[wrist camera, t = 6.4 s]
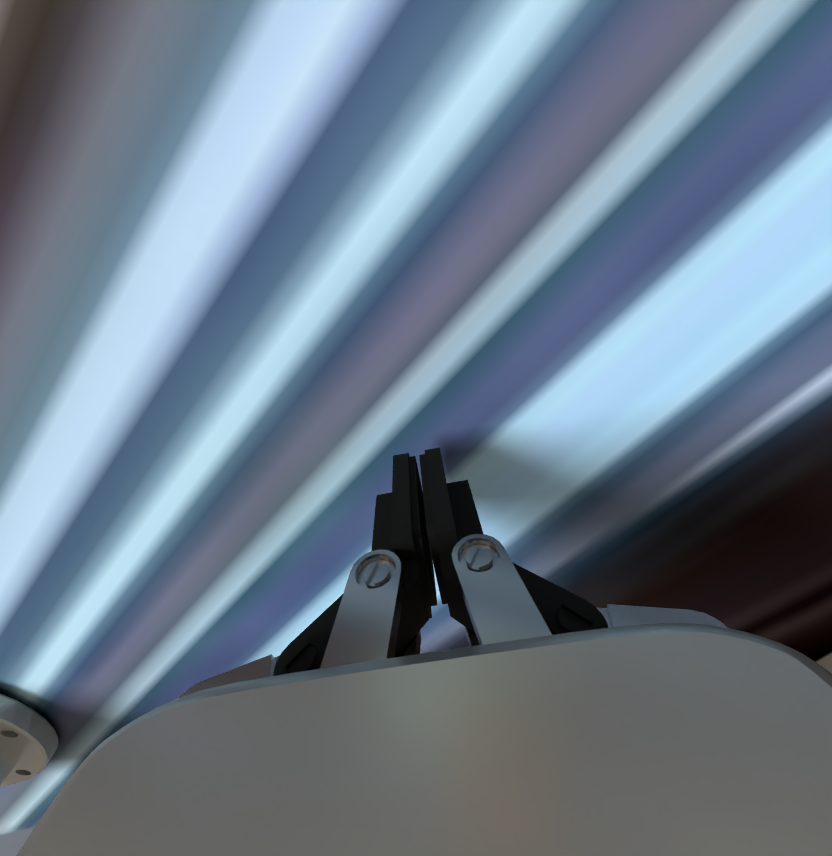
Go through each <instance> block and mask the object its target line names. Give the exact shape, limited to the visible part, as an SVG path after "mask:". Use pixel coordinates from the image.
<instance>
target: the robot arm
mask: <svg viewBox="0 0 832 856" xmlns="http://www.w3.org/2000/svg"><path fill="white" fill-rule="evenodd" d="M420 466H421V477H422V486H421V482H420V477H419V472H418V468H417V463H416V458H415V456H412V457H409V453H406V454H400V455H395V456H393V484H392V493H386V494H381V495H377V498H376V508H375V519H374V530H373V541H372V551H371V552H369V553H366V554H365V555H363V556H362V557H360V558H359V559H358V560H357V561H356V563H355V564H354V565H353V567H352V569H351V571H350V574H349V578H348V581H347V584H346V587H345V590H344V594H342V595H341V596H340V597H339V598H338V599H337V600H336V601H335V602H334V603H333V604H332V605H331V606H330V607H329V608H328V609H326V610H325V611H324V612H323V613H322V614H321V615H320V616H319V617H318V618H317V619H316V620H315V621H314V622H313V623H311V624H310V625H309V626H308V627H307V628H306V629H305V630H304V631H303V632H302V633H301V634H300V635H299V636H298V637H297V638H295V639H294V640H293V641H292V642H291V643H290V644H289V645H288V646H287V647H286V649H285V650H284V651H283V652H282V653H281V655H280V656H278V657H275V658H274V657H273V656H272V654H271V655H269V656H266V657H264V658H261V659H258V660H256V661H253V662H251V663H248V664H245V665H243V666H240V667H238V668H235V669H232V670H230V671H227V672H225V673H222V674H220V675H217V676H214V677H212V678H209V679H207V680H204V681H201V682H199V683H197V684H196V685H194V686H192V687H190V688H189V689H188V690H187V691H186V692H185V693H183V694H182V695H181V696H180V697H179V698H178V699H176V700H173V701H171V702H169V703H166V704H164V705H162V706H159V707H157V708H155V709H154V710H152V711H150V712H148V713H146V714H144V715H142V716H141V717H139V718H137V719H135V720H133V721H132V722H130V723H129V724H127V725H126V726H124V727H122V728H121V729H119V730H118V731H117V732H115V733H114V734H112V735H111V736H110V737H108V738H107V739H106V740H104V741H103V742H102V743H101V744H100V745H99V746H98V747H97V748H96V749H94V750H93V751H92V752H91V753H90V754H89V756H88V757H87V758H86V759H85V760H84V761H83V762H82V763H81V764H80V766H79V767H78V768H77V769H76V771H75V772H74V773H73V774H72V776H71V777H70V778H69V779H68V781H67V782H66V784H65V785H64V786H63V788H62V789H61V790H60V792H59V793H58V794H57V796H56V797H55V799H54V800H53V802H52V803H51V805H50V806H49V807H48V809H47V810H46V812H45V813H44V815H43V816H42V818H41V819H40V821H39V822H38V823H37V825H36V826H35V828H34V829H33V831H32V832H31V834H30V836H29V837H28V839H27V840H26V842H25V843H24V845H23V846H22V848H21V849H20V851H19V852H18V854H17V856H832V674H831V673H830V672H829V671H827V670H826V669H824V668H823V667H821V666H820V665H819V664H817V663H816V662H815V661H813V660H811V659H810V658H808V657H806V656H805V655H803V654H802V653H800V652H798V651H796V650H794V649H792V648H790V647H788V646H785V645H783V644H781V643H778V642H776V641H773V640H770V639H767V638H764V637H761V636H757V635H754V634H751V633H747V632H742V631H738V630H733V629H729V628H728V627H726V626H725V625H724V624H722V623H721V622H720V621H719V620H717V619H716V618H713V617H711V616H709V615H707V614H705V613H702V612H698V611H693V610H682V609H668V608H653V607H639V606H624V605H610V604H608V606H607V609H606V608H596V607H595V606H594V605H592V604H591V603H589V602H588V601H586V600H584V599H582V598H580V597H579V596H577V595H575V594H573V593H571V592H569V591H567V590H565V589H563V588H561V587H559V586H557V585H555V584H553V583H551V582H549V581H547V580H545V579H543V578H541V577H540V576H538V575H536V574H534V573H532V572H530V571H528V570H526V569H524V568H522V567H520V566H518V565H516V564H514V563H512V561H511V559H510V558H509V556H508V554H507V552H506V550H505V549H504V547H503V546H502V544H501V543H500V542H499V541H498V540H496V539H495V538H493V537H491V536H488V535H484V534H483V531H482V528H481V524H480V521H479V517H478V514H477V510H476V507H475V504H474V500H473V497H472V493H471V490H470V486H469V483H468V480H464V481H458V482H452V483H446V478H445V473H444V468H443V463H442V458H441V453H440V448H435V449H429V450H425V454H424V455H420ZM422 487H423V491H422ZM432 559H433V560H432ZM433 564H434V568H435V573H436V577H437V582H438V586H439V591H440V596H441V600H442V604H448V606H449V611H450V616H451V617H453V618H454V619H455V620H457V621H458V622H460V623H461V624H462V625H464V626H465V632H466V635H467V638H468V641H469V644H470V647H464V648H457V649H450V650H443V651H436V652H429V653H423V654H420V645H421V632H420V630H421V628H422V627H423V626H424V625H425V623H426V622H427V621H428V620H429V618H432V614H431V606H435V605H437V598H436V588H435V579H434V569H433ZM57 747H58V736H57V734H56V732H55V729H54V728H53V726H52V725H51V724H50V723H49V722H48V721H47V720H46V719H45V718H44V717H43V716H41V715H40V714H39V713H37V712H36V711H35V710H33V709H31V708H30V707H28V706H26V705H24V704H22V703H21V702H19V701H17V700H15V699H12V698H10V697H8V696H5V695H3V694H1V693H0V786H5V785H10V784H15V783H18V782H21V781H24V780H27V779H29V778H31V777H33V776H35V775H36V774H38V773H40V772H41V771H42V770H43V769H44V767H45V766H46V765H47V763H48V762H49V760H50V759H51V757H52V756H53V754H54V753H55V751H56V749H57Z"/></svg>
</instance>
